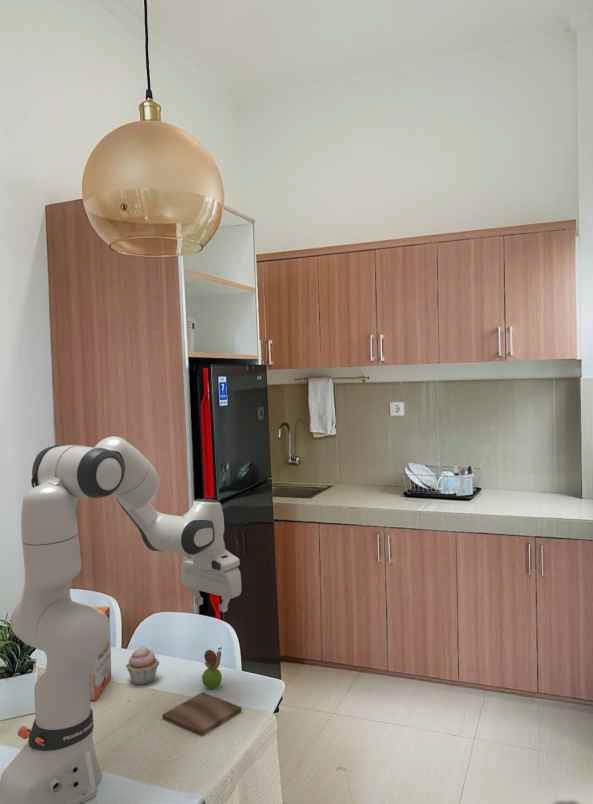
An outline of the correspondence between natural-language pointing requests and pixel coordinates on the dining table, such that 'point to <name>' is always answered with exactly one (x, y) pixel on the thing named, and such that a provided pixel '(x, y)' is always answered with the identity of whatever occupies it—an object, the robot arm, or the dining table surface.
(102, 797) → the dining table surface
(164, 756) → the dining table surface
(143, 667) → the cupcake
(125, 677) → the dining table surface
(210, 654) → the snail figurine
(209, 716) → the walnut board
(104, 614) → the cracker box
